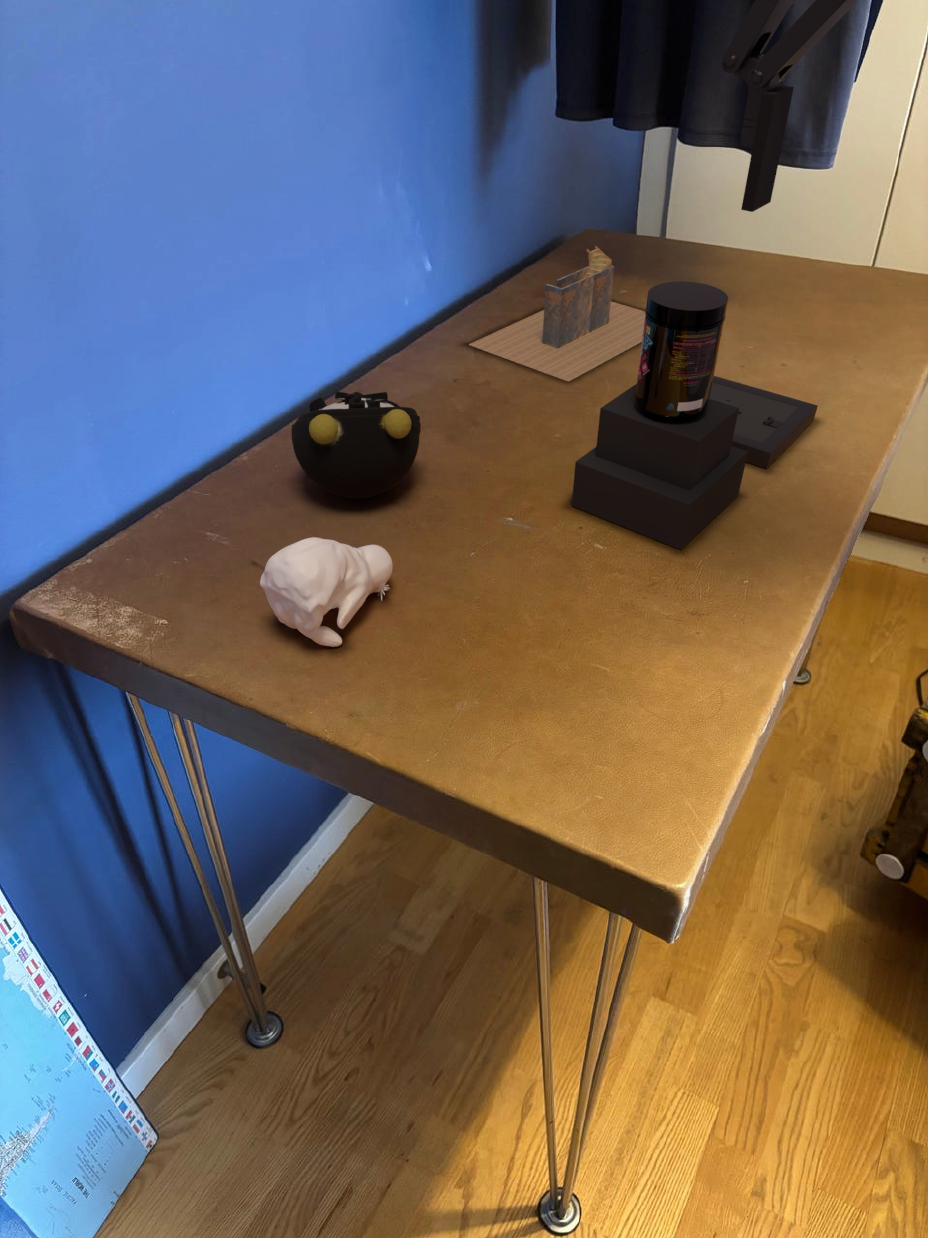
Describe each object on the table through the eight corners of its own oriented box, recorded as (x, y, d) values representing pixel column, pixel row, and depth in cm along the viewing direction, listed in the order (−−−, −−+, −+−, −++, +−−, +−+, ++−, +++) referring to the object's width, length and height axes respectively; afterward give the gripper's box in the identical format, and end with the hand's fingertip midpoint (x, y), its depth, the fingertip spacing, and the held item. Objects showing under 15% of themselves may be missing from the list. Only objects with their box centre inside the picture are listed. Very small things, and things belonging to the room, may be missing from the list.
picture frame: (617, 420, 103) (766, 469, 95) (619, 401, 101) (771, 449, 93) (672, 379, 111) (814, 420, 103) (675, 361, 110) (819, 402, 101)
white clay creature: (248, 545, 69) (358, 491, 77) (256, 635, 74) (359, 576, 82) (306, 576, 66) (415, 517, 74) (311, 668, 71) (412, 604, 79)
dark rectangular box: (738, 495, 91) (748, 451, 87) (680, 550, 83) (689, 504, 80) (633, 457, 96) (639, 414, 93) (571, 506, 89) (575, 461, 86)
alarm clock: (424, 490, 98) (473, 390, 87) (337, 560, 89) (378, 459, 78) (344, 422, 100) (381, 315, 88) (250, 484, 91) (277, 373, 79)
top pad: (729, 455, 87) (739, 407, 84) (689, 490, 82) (698, 441, 79) (637, 424, 92) (644, 378, 88) (595, 455, 87) (600, 407, 84)
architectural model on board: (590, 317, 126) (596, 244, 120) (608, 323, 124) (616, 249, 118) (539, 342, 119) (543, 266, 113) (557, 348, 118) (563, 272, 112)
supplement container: (678, 386, 87) (696, 276, 80) (723, 416, 82) (745, 302, 76) (618, 400, 85) (631, 288, 78) (660, 432, 80) (678, 315, 73)
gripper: (1339, -277, 37) (1106, 252, 51) (768, -244, 49) (702, 178, 63) (1329, -295, 33) (1077, 291, 47) (703, -254, 45) (648, 203, 58)
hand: (861, 227), depth 55 cm, fingers open, 13 cm apart
